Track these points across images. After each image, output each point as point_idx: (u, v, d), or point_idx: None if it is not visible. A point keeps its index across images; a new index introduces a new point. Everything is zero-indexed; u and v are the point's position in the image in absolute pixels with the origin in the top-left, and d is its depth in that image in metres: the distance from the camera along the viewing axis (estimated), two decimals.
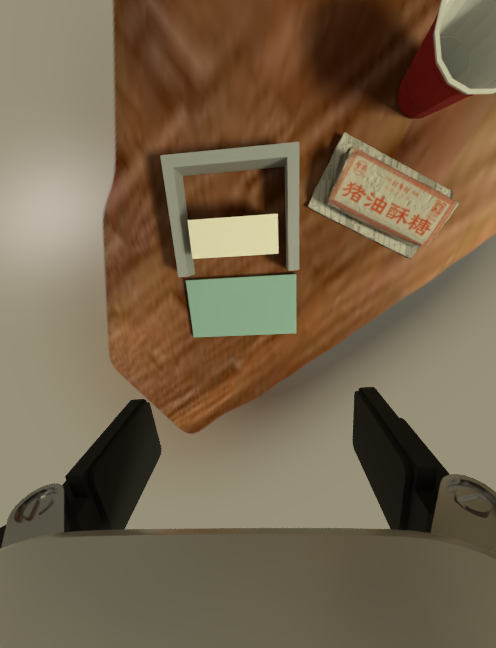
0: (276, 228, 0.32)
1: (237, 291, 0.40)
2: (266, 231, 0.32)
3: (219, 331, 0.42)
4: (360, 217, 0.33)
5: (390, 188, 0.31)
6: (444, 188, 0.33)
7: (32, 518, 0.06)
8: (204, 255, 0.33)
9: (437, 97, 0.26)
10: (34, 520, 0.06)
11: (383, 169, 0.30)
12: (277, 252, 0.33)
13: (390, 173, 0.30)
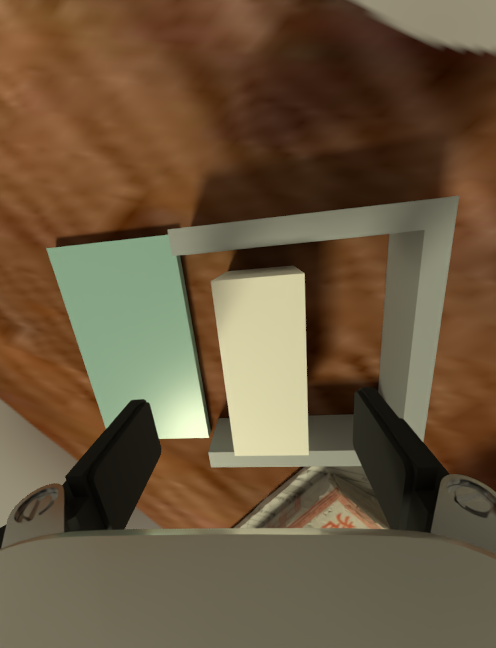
0: (281, 452, 0.16)
1: (165, 344, 0.20)
2: (277, 437, 0.16)
3: (75, 307, 0.20)
4: (298, 520, 0.22)
5: None
6: None
7: (32, 518, 0.06)
8: (220, 311, 0.13)
9: None
10: (34, 520, 0.06)
11: None
12: (236, 454, 0.16)
13: None
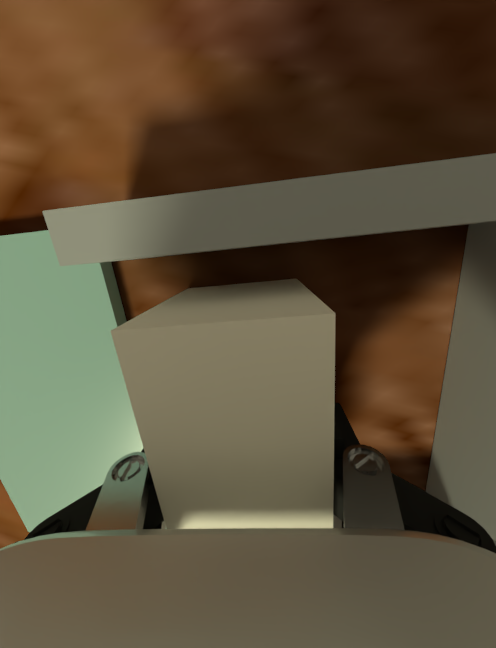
0: None
1: (96, 403, 0.12)
2: None
3: None
4: None
5: None
6: None
7: (122, 480, 0.07)
8: (140, 395, 0.06)
9: None
10: (123, 482, 0.07)
11: None
12: None
13: None
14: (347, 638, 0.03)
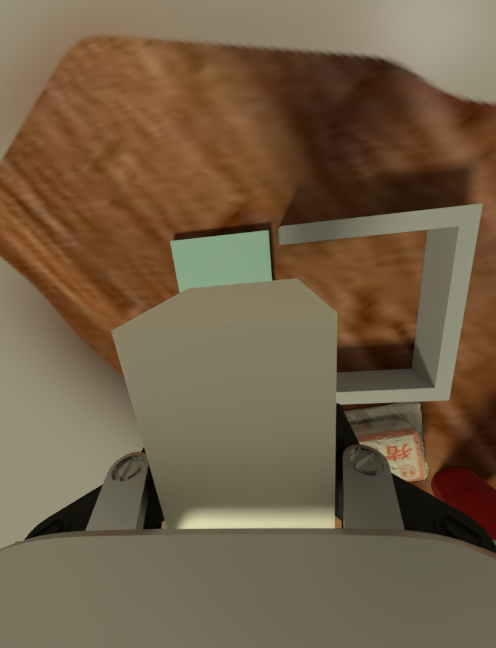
0: None
1: None
2: None
3: (186, 285, 0.26)
4: (368, 435, 0.27)
5: None
6: None
7: (122, 480, 0.07)
8: (141, 395, 0.06)
9: None
10: (123, 482, 0.07)
11: None
12: None
13: None
14: (347, 638, 0.03)
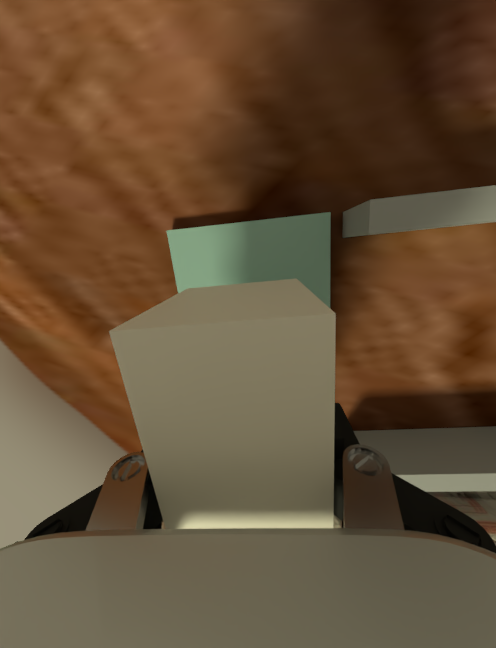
0: None
1: None
2: None
3: None
4: (483, 523, 0.18)
5: None
6: None
7: (122, 480, 0.07)
8: (139, 395, 0.06)
9: None
10: (123, 482, 0.07)
11: None
12: None
13: None
14: (347, 638, 0.03)
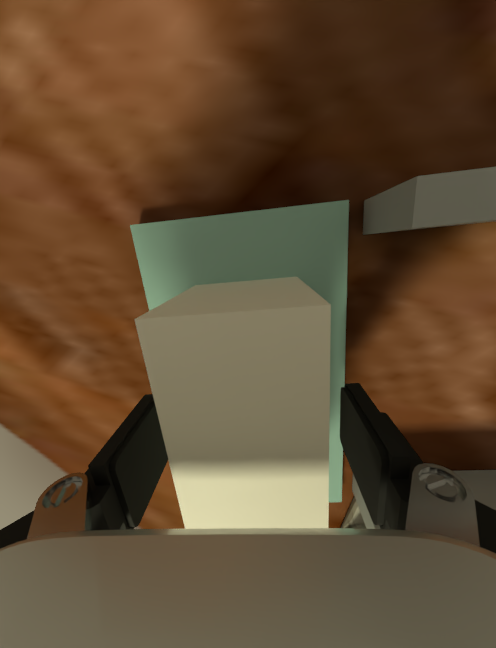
0: None
1: None
2: None
3: None
4: None
5: None
6: None
7: (58, 505, 0.07)
8: (158, 377, 0.07)
9: None
10: (59, 507, 0.06)
11: None
12: None
13: None
14: (347, 638, 0.03)
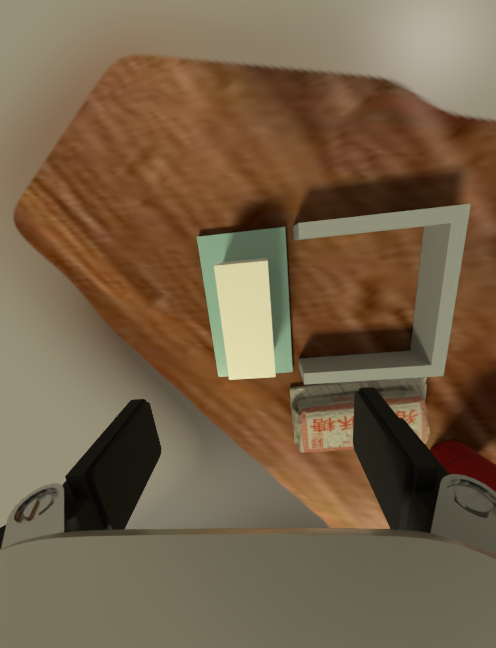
0: (258, 376, 0.26)
1: None
2: (255, 365, 0.25)
3: (210, 277, 0.29)
4: None
5: None
6: None
7: (32, 518, 0.06)
8: (219, 283, 0.23)
9: None
10: (34, 520, 0.06)
11: None
12: (230, 378, 0.26)
13: None
14: (347, 638, 0.03)
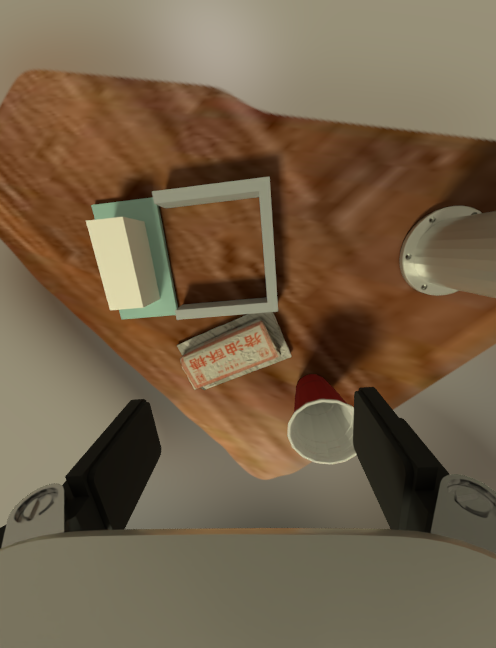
0: (130, 307, 0.34)
1: (152, 257, 0.38)
2: (127, 298, 0.34)
3: None
4: (232, 333, 0.39)
5: (235, 360, 0.39)
6: (209, 386, 0.44)
7: (32, 518, 0.06)
8: (91, 234, 0.32)
9: (296, 403, 0.38)
10: (34, 520, 0.06)
11: (251, 363, 0.39)
12: (110, 309, 0.35)
13: (245, 366, 0.39)
14: (347, 638, 0.03)
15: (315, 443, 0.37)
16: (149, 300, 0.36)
